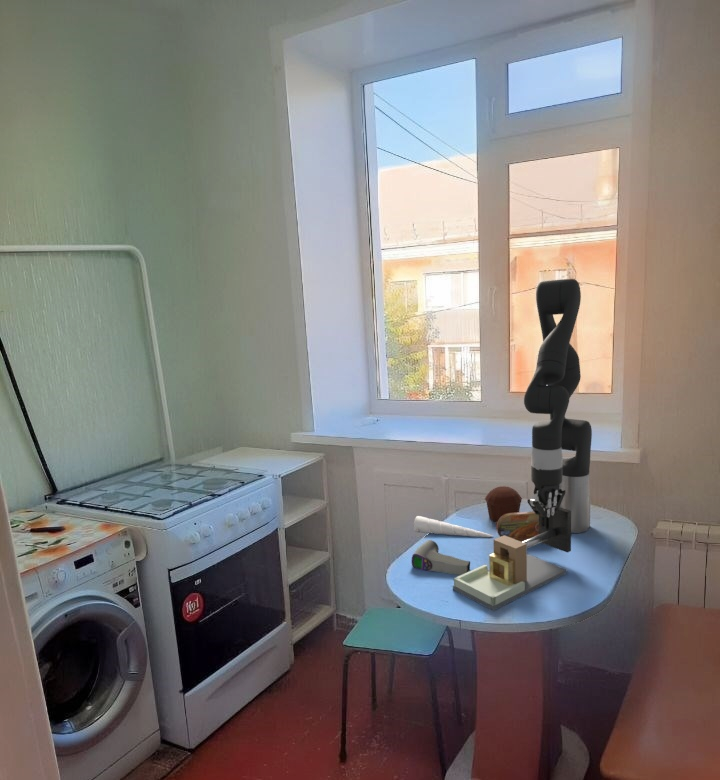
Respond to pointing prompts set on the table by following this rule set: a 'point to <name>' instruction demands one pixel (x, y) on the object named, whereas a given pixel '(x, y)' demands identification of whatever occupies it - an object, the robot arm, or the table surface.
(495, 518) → the muffin
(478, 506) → the table surface
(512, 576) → the spacer
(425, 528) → the unicorn horn
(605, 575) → the table surface
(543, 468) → the robot arm
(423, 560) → the infrared thermometer
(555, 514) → the shaft
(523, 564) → the shaft rig
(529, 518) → the tin
